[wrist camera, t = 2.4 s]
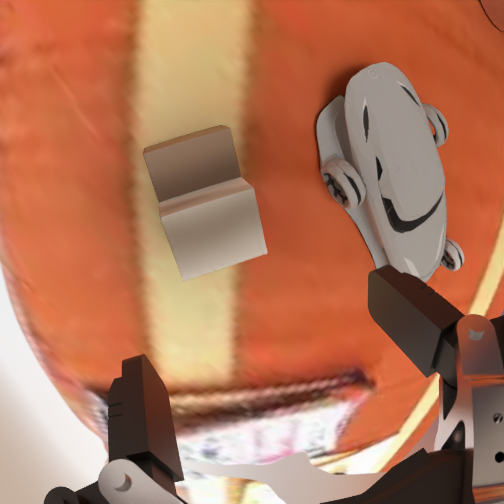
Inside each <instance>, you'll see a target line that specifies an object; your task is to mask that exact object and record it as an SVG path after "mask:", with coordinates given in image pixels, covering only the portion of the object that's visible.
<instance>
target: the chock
mask: <svg viewBox="0 0 504 504" xmlns="http://www.w3.org/2000/svg"><path fill="white" fill-rule="evenodd" d="M144 157H145V161H146V164H147V167H148V170H149V173H150V176H151V180H152V183H153V186H154V189H155V192H156V195H157V198H158V201H159V209H160V219H161V221H162V224H163V227H164V230H165V233H166V235H167V238H168V241H169V244H170V246H171V249H172V252H173V255H174V257H175V260H176V262H177V265H178V268H179V270H180V273H181V276H182V278H183V281H187V280H190V279H193V278H196V277H199V276H202V275H205V274H207V273H210V272H213V271H216V270H219V269H222V268H225V267H228V266H231V265H234V264H237V263H240V262H243V261H246V260H249V259H252V258H255V257H258V256H261V255H264V254H266V253H267V248H266V243H265V239H264V234H263V229H262V224H261V220H260V215H259V210H258V206H257V201H256V196H255V192H254V188H253V187H252V186H251V185H250V184H249V183H248V182H246V181H245V180H244V179H243V178H242V177H241V174H240V170H239V165H238V161H237V157H236V152H235V148H234V144H233V139H232V135H231V131H230V128H228V127H225V126H222V125H220V126H217V127H213V128H209V129H206V130H202V131H198V132H195V133H191V134H188V135H185V136H181V137H178V138H175V139H172V140H168V141H165V142H162V143H159V144H156V145H153V146H150V147H147V148H145V149H144Z"/></svg>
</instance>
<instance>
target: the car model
mask: <svg viewBox="0 0 504 504" xmlns="http://www.w3.org/2000/svg"><path fill="white" fill-rule="evenodd" d="M428 120H429V121H430V122H431V124H432V125H433V127H434V129H435V135H433V134H432V131H431V128H430V125H429V122H428ZM448 132H449V129H448V125H447V122H446V120H445V118H444V116H443V115H442V113H441V112H440V111H439V110H438V109H437V108H435V107H433V106H431V105H430V104H421V102H420V100H419V98H418V96H417V94H416V92H415V90H414V88H413V86H412V84H411V83H410V81H409V80H408V79H407V77H406V76H405V75H404V74H403V73H402V71H400V70H399V69H398V68H397V67H395V66H394V65H392V64H389V63H387V62H382V63H377V64H372V65H370V66H368V67H366V68H364V69H362V70H361V71H360V72H358V73H357V74H356V75H354V76H353V77H352V78H351V80H350V81H349V83H348V85H347V89H346V92H345V98H344V97H343V96H342V95H339V96H338V97H336V98H335V99H334V100H333V101H331V102H330V103H329V104H328V105H327V107H326V108H325V109H324V110H323V111H322V112H321V114H320V115H319V117H318V121H317V140H318V147H319V155H320V168H321V175H322V178H323V180H324V182H325V181H326V183H327V186H328V188H329V192H330V194H331V196H332V197H333V198H334V199H335V200H336V202H337V203H338V204H340V205H341V206H342V207H343V208H344V209H345V210H346V211H347V213H348V214H349V215H350V216H351V218H352V219H353V220H354V222H355V223H356V224H357V226H358V228H359V230H360V232H361V234H362V236H363V238H364V240H365V242H366V244H367V246H368V248H369V250H370V252H371V254H372V257H373V260H374V262H375V266H376V269H378V268H380V267H382V266H384V265H387V264H390V265H392V266H393V267H394V268H395V269H397V270H398V271H399V272H401V273H403V272H406V273H408V274H411V275H414V276H416V277H418V278H419V279H421V280H422V281H423V282H426V281H428V280H429V279H430V277H431V276H432V274H433V273H434V271H435V270H436V268H437V267H438V266H440V265H442V266H444V267H445V268H446V269H448V270H451V271H456V270H458V269H460V267H461V266H462V265H463V262H464V254H463V252H462V250H461V248H460V246H459V245H458V244H457V243H456V242H455V241H453V240H451V239H449V238H447V237H446V226H447V211H446V197H445V188H444V187H445V175H444V171H443V167H442V163H441V160H440V158H439V155H438V151H437V147H439V146H441V145H442V144H444V143H445V141H446V139H447V137H448ZM419 225H420V226H419ZM447 251H448V252H449V253H450V255H451V256H452V257H451V256H450V255H449V254H448V252H447Z"/></svg>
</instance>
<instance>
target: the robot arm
mask: <svg viewBox="0 0 504 504" xmlns="http://www.w3.org/2000/svg"><path fill="white" fill-rule="evenodd" d="M480 1H481V4H482V6H483V8H484V10H485V12H486V14H487V15H488V17H489V18H490V20H491V21H492V23H493V24H494V25H495V26H496V27H497V28H498V29H499V30H501V31H504V0H480ZM368 309H369V312H370V314H371V316H372V318H373V319H374V321H375V322H376V323H377V324H378V325H379V326H380V327H381V328H382V329H383V330H384V331H385V333H386V334H387V335H388V336H389V337H390V338H391V339H392V340H393V341H394V342H395V343H396V344H397V346H398V347H399V348H400V349H401V350H402V351H403V352H404V353H405V354H406V355H407V357H408V358H409V359H410V360H411V361H412V362H413V363H414V364H415V365H416V366H417V368H418V369H419V370H420V371H421V372H422V373H423V374H424V375H425V377H426V378H427V377H429V376H430V375H432V374H433V373H435V372H436V371H437V372H438V373H439V374H440V378H439V427H438V432H437V435H436V439H435V444H434V451H433V452H430V453H427V452H426V451H425V449H424V448H422V449H421V450H419V451H418V452H416V453H415V454H413V455H411V456H410V457H408V458H407V459H405V460H403V461H402V462H400V463H399V464H397V465H395V466H394V467H392V468H391V469H390V470H389V471H388V472H387V473H386V474H385V475H384V476H383V477H382V478H380V479H379V480H378V481H377V482H376V483H375V484H374V485H373V486H371V487H370V488H369V489H368V490H367V491H365V492H364V493H362V494H360V495H356V496H352V497H348V498H344V499H339V500H335V501H330V502H325V503H320V504H504V315H503V316H500V317H497V318H494V319H491V320H488V319H487V318H485V317H483V316H481V315H477V314H470V315H466V316H465V315H464V314H462V313H461V312H460V311H459V310H458V309H456V308H455V307H454V306H453V305H452V304H450V303H449V302H448V301H447V300H446V299H444V298H443V297H442V296H441V295H439V294H438V293H435V291H434V290H433V289H432V288H431V287H429V286H427V284H426V283H424V282H423V281H422V280H421V279H419V278H418V277H416V276H414V275H411V274H408V273H406V272H403V273H401V272H399V271H398V270H397V269H395V268H394V267H393V266H392V265H390V264H387V265H384V266H382V267H380V268H378V269H375V270H373V271H371V272H370V273H369V275H368ZM108 406H109V408H108V417H109V419H108V445H109V463H108V464H107V465H106V466H105V467H104V468H103V469H102V470H101V472H100V474H99V478H98V481H96V482H95V483H93V484H91V485H89V486H86V487H84V488H82V489H80V490H78V491H76V492H74V491H72V490H70V489H69V488H66V487H56V488H54V489H52V490H51V491H50V492H49V493H48V494H47V495H46V498H45V500H44V504H189V503H188V502H187V501H185V500H184V499H183V498H181V497H180V496H179V495H177V493H176V489H175V484H174V482H178V481H183V480H184V476H183V471H182V467H181V462H180V457H179V452H178V447H177V442H176V436H175V431H174V425H173V420H172V414H171V407H170V401H169V396H168V392H167V390H166V387H165V385H164V383H163V381H162V380H161V378H160V377H159V375H158V374H157V372H156V371H155V369H154V367H153V366H152V364H151V363H150V361H149V360H148V358H147V357H146V355H144V354H142V355H139V356H135V357H132V358H129V359H125V360H123V361H122V377H119V378H116V379H114V380H113V383H112V385H111V387H110V390H109V392H108Z"/></svg>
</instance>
